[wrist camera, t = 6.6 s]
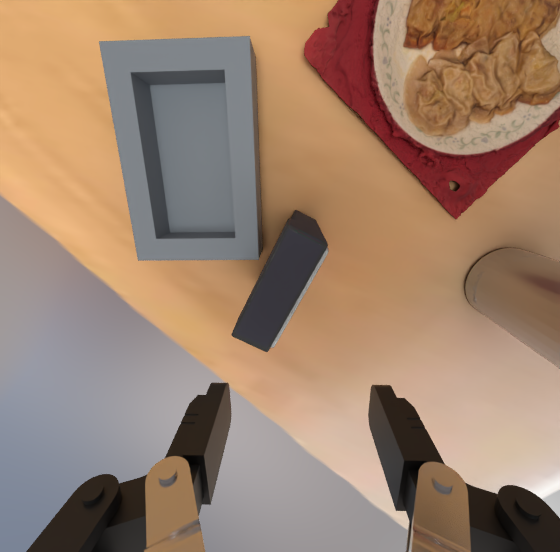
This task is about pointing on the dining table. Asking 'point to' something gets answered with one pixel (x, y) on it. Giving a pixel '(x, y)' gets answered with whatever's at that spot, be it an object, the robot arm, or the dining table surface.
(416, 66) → the plate with food
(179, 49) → the tray
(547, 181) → the dining table surface
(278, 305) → the dark bevelled slab
